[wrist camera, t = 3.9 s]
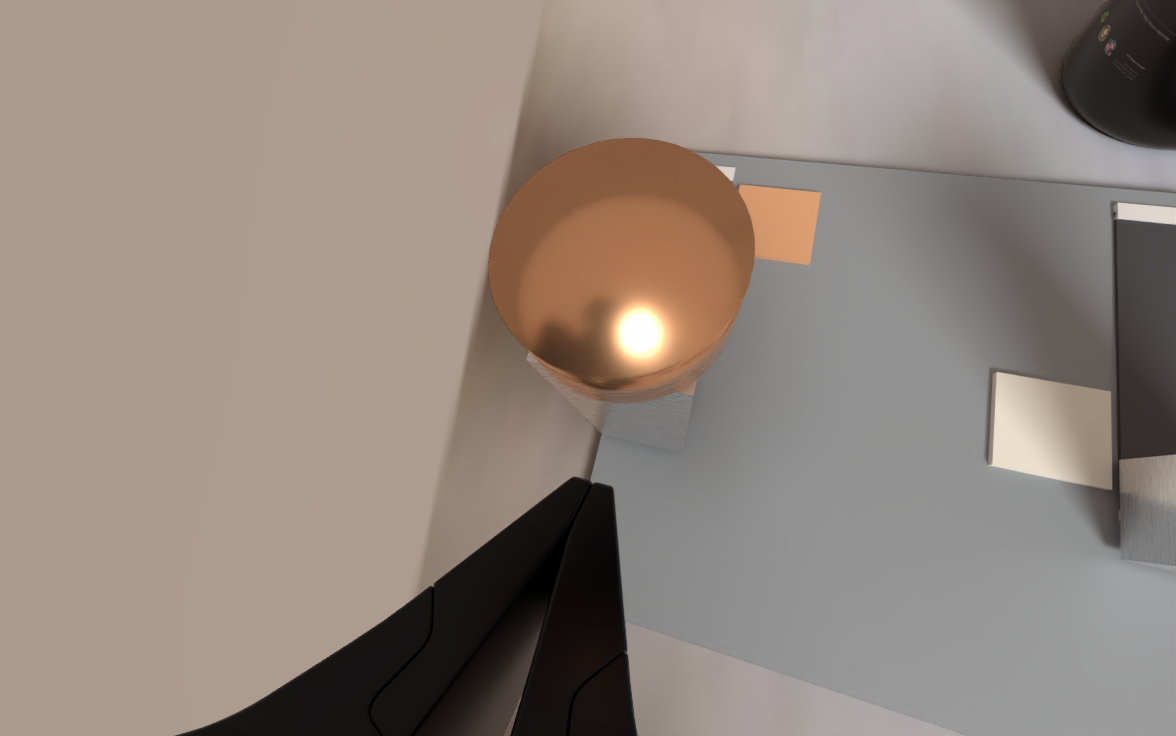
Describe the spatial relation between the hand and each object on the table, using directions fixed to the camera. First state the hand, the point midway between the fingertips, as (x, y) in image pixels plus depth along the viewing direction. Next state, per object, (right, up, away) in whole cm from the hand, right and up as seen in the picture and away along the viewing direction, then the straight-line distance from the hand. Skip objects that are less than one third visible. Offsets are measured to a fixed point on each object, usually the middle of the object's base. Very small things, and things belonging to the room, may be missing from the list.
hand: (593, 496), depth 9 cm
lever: (+2, +1, +7) cm, 8 cm away
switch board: (+10, +1, +7) cm, 12 cm away
